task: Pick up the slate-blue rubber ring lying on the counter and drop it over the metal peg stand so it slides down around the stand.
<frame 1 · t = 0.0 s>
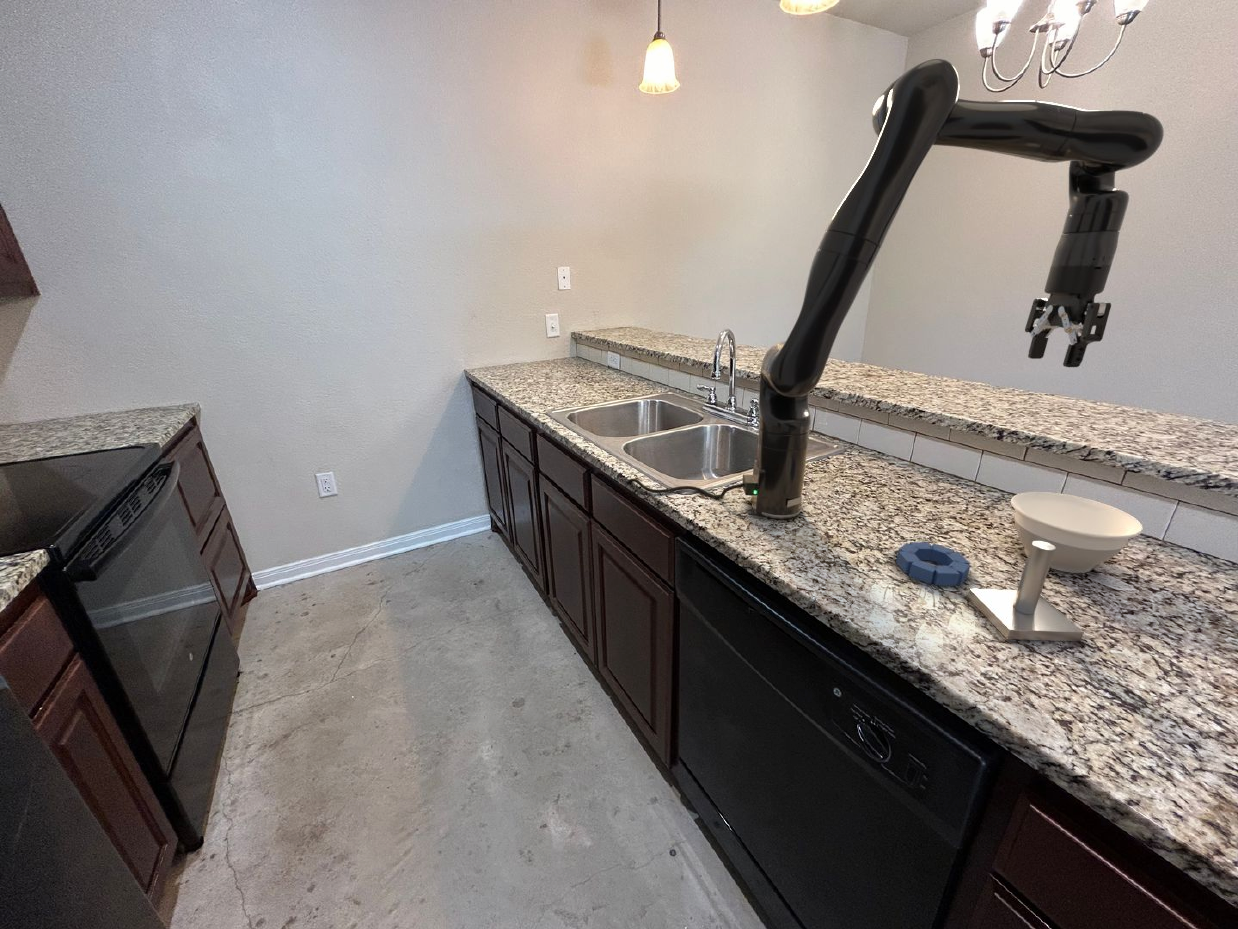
hand: (1052, 362, 87), 29 cm above the countertop, tool pointing down, fingers open, 8 cm apart
bowl: (1057, 559, 82), on the countertop
metal peg stand: (1020, 618, 69), on the countertop
ring: (930, 568, 80), on the countertop
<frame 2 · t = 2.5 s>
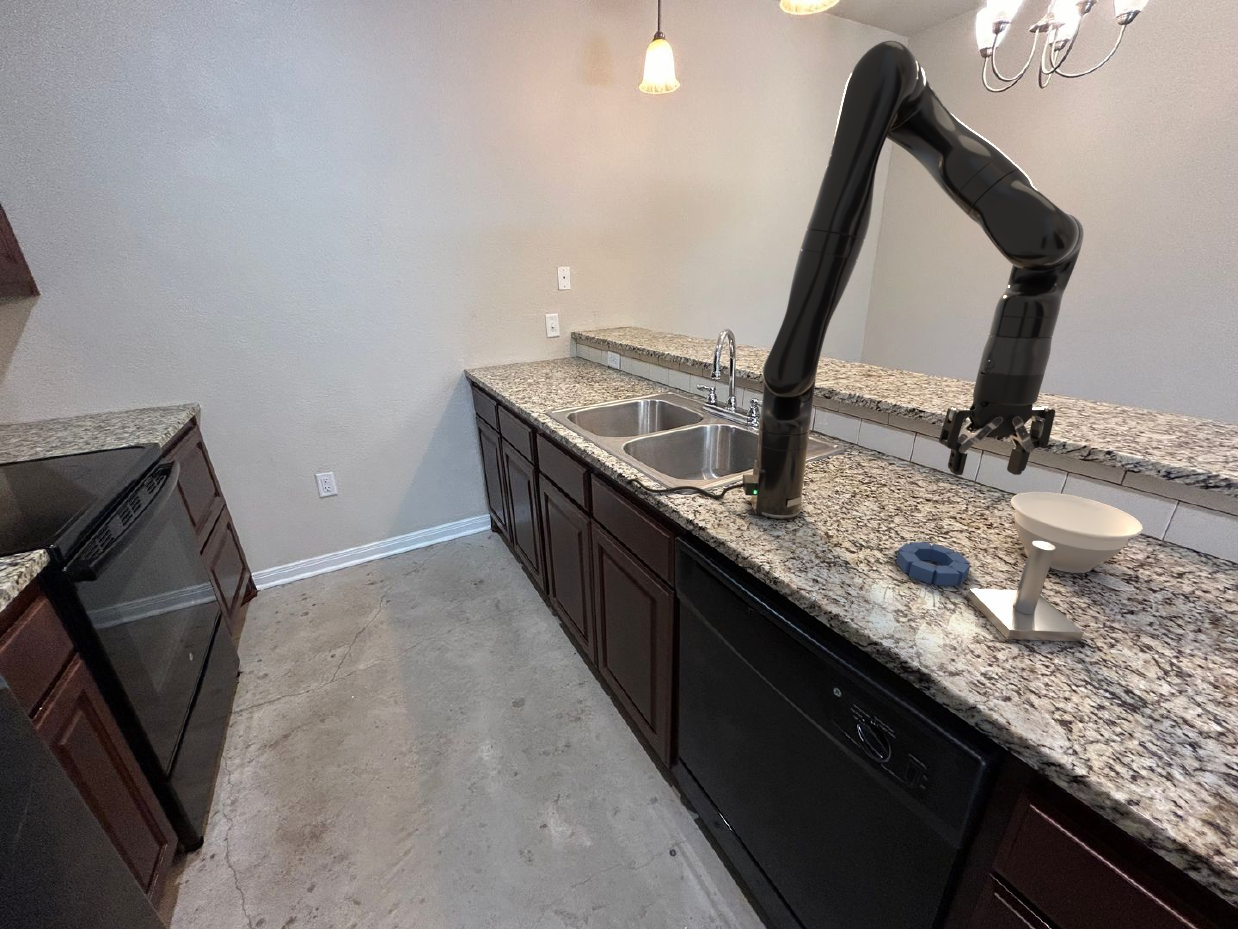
hand: (984, 473, 77), 16 cm above the countertop, tool pointing down, fingers open, 8 cm apart
nothing on the countertop moved.
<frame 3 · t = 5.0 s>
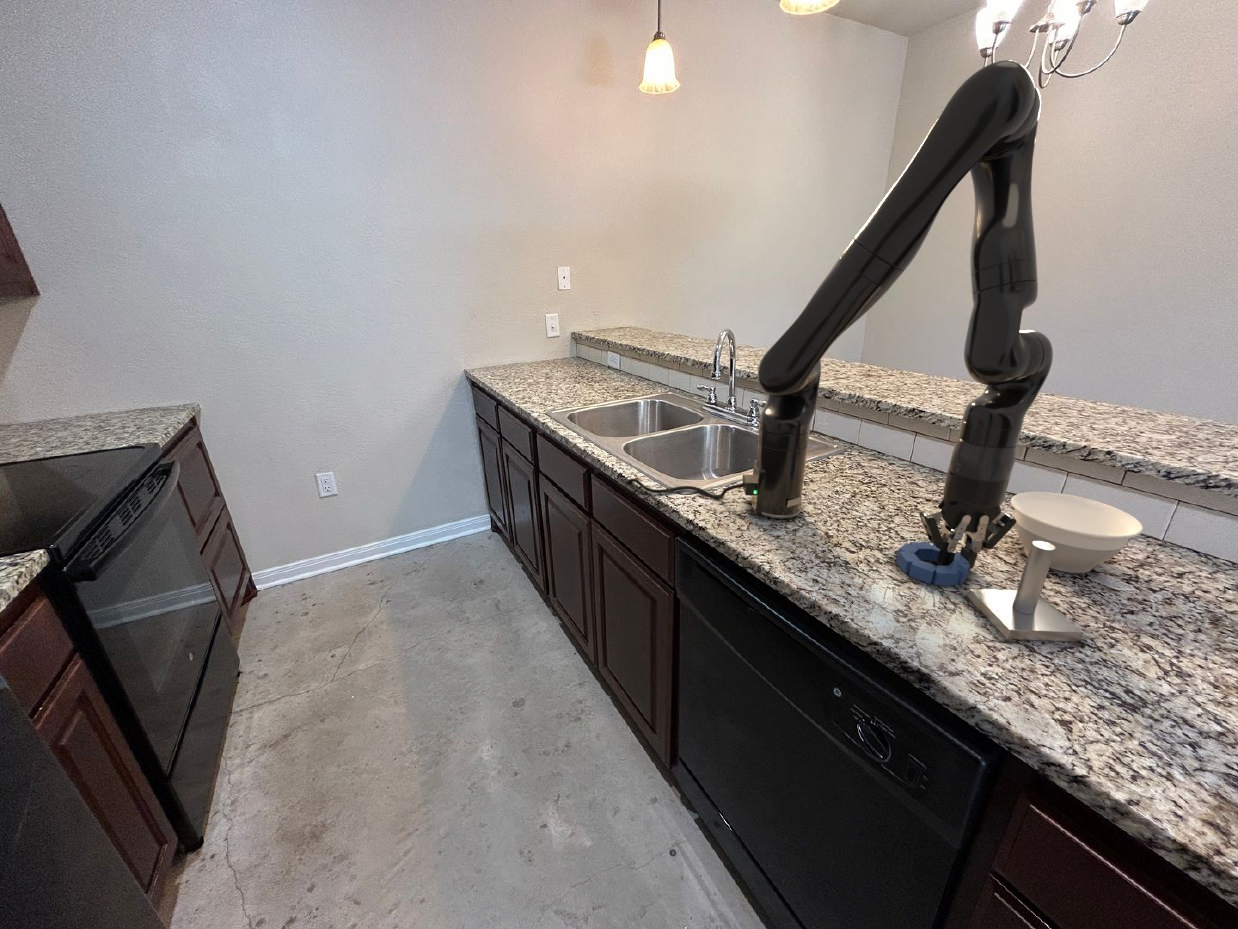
hand: (953, 568, 80), 0 cm above the countertop, tool pointing down, fingers closed on ring, 2 cm apart
ring: (930, 568, 80), on the countertop, touching gripper
everything else where it was.
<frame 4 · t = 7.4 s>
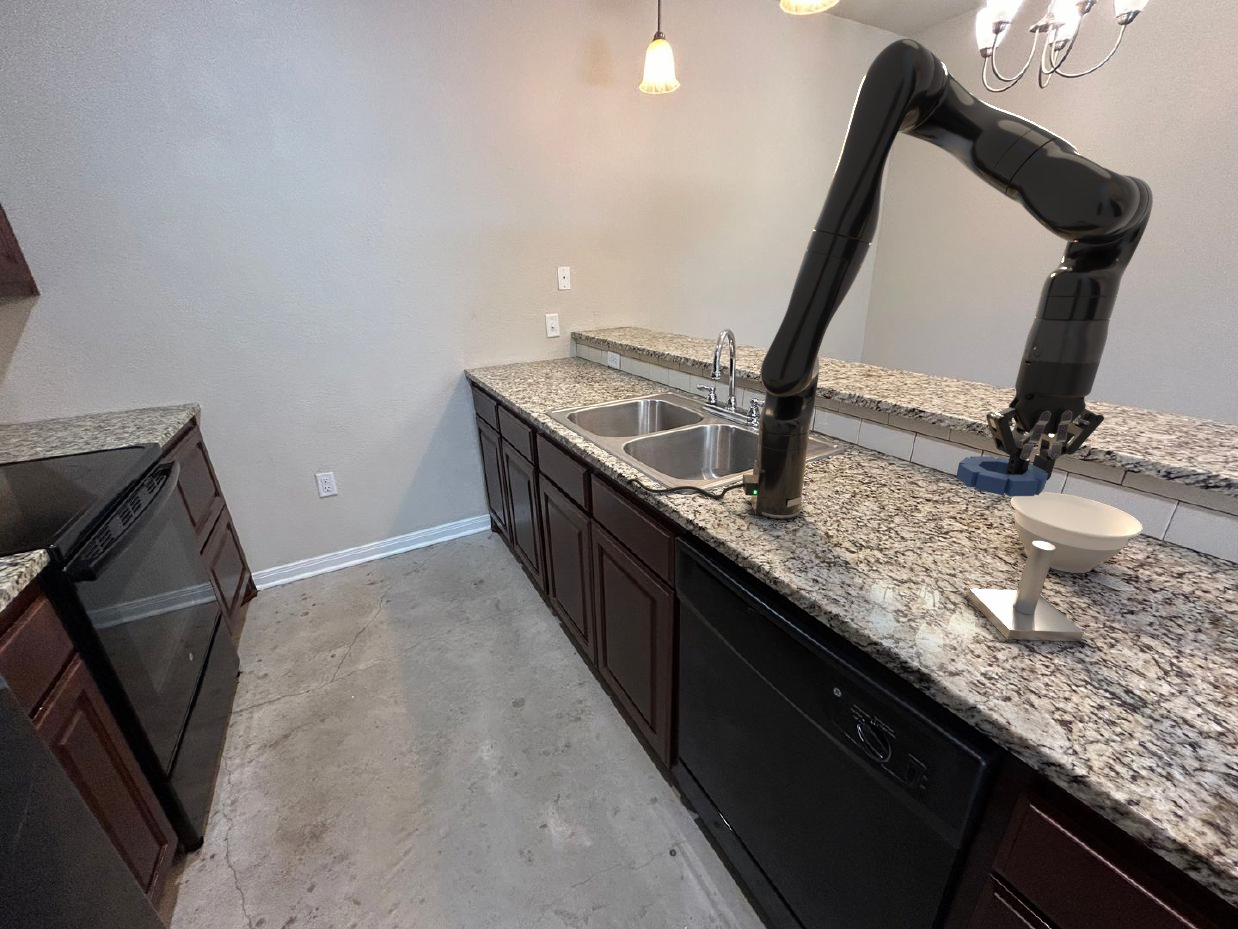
hand: (1025, 481, 69), 18 cm above the countertop, tool pointing down, fingers closed on ring
ring: (998, 482, 69), point 17 cm above the countertop, touching gripper
everything else where it was.
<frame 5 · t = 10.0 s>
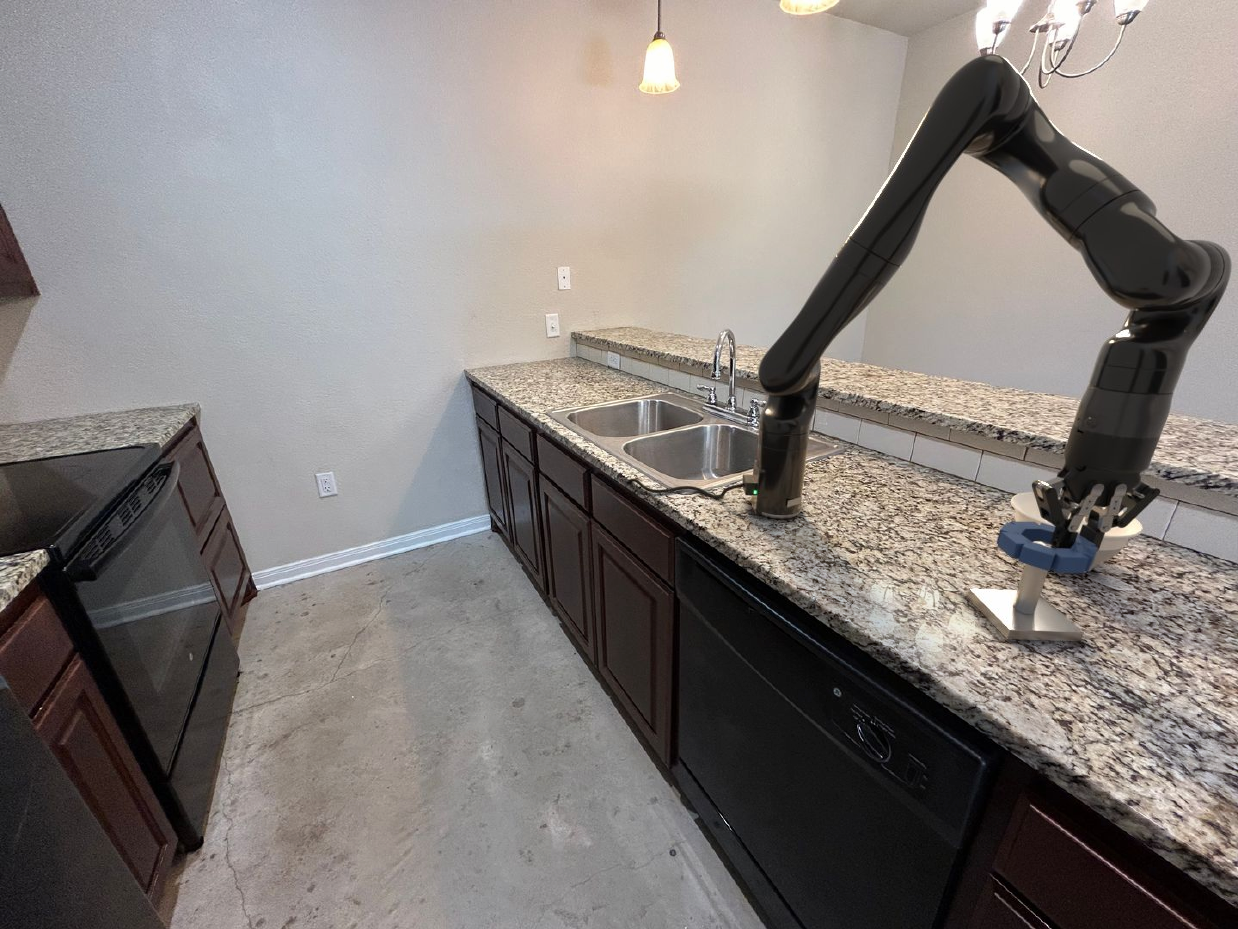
hand: (1071, 553, 65), 10 cm above the countertop, tool pointing down, fingers closed on ring
ring: (1042, 553, 65), point 10 cm above the countertop, touching gripper
everything else where it was.
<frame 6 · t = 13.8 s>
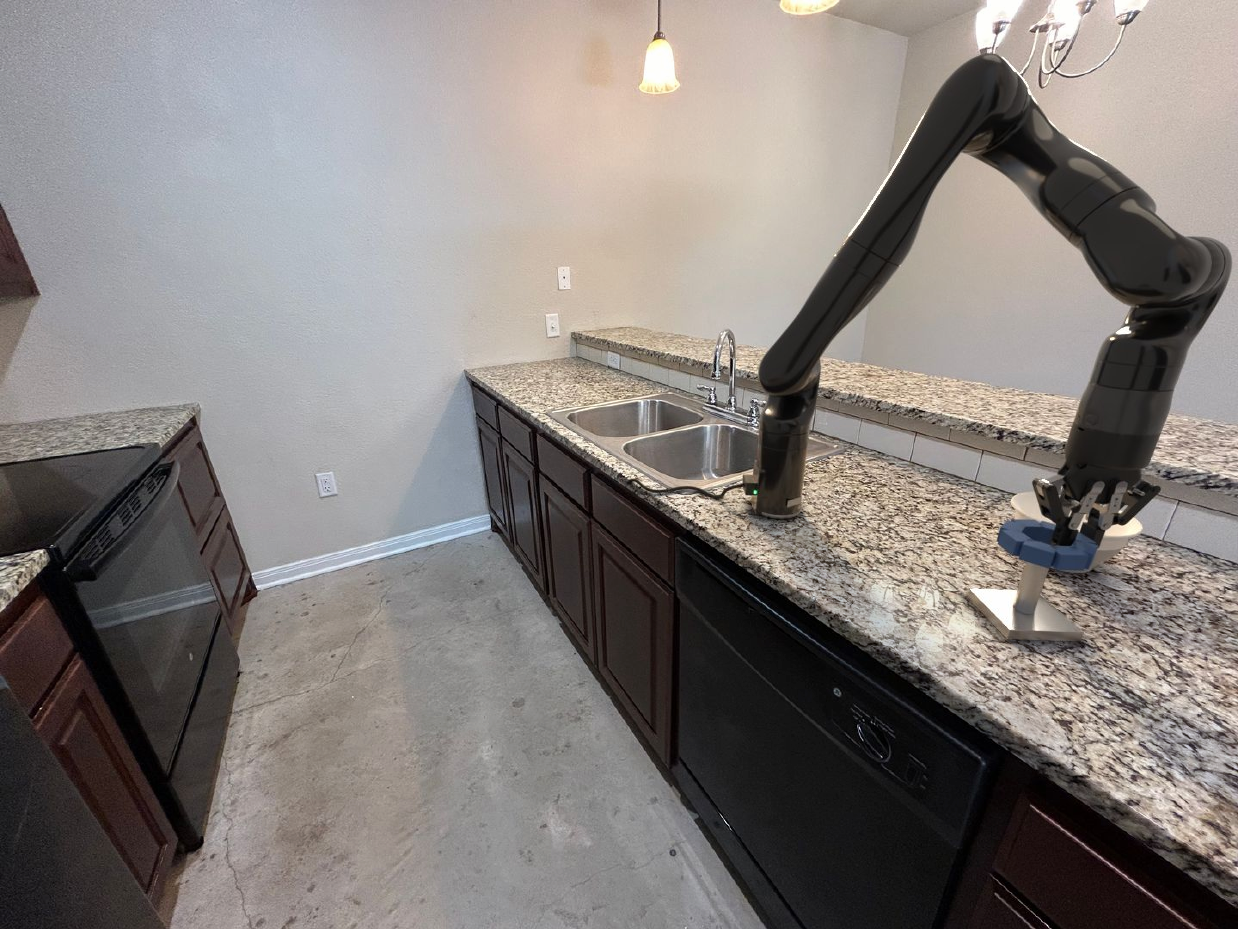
hand: (1072, 550, 64), 11 cm above the countertop, tool pointing down, fingers closed on ring
ring: (1042, 550, 65), point 11 cm above the countertop, touching gripper
everything else where it was.
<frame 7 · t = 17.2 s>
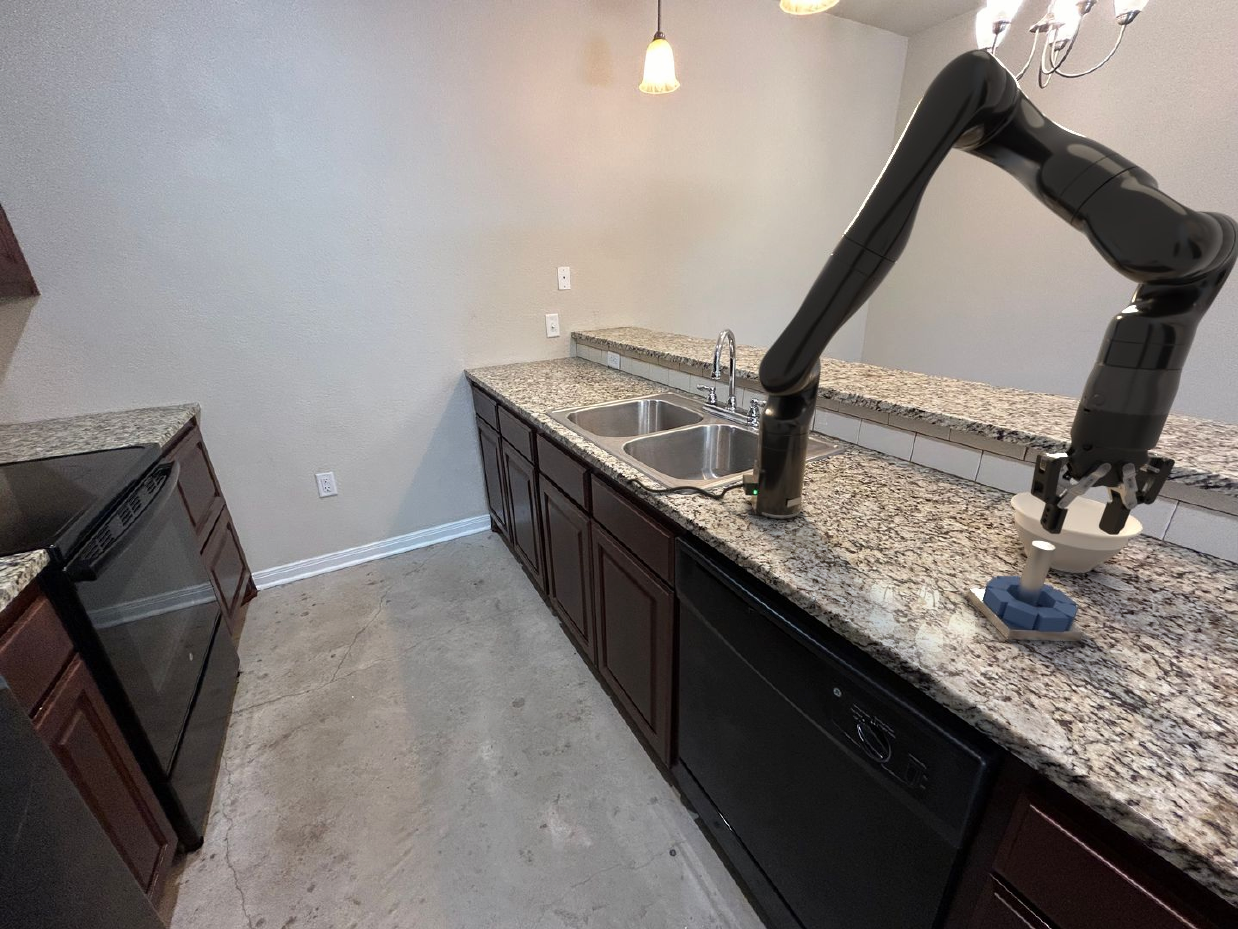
hand: (1078, 531, 63), 14 cm above the countertop, tool pointing down, fingers open, 6 cm apart
ring: (1026, 609, 68), point 1 cm above the countertop, touching metal peg stand
everything else where it was.
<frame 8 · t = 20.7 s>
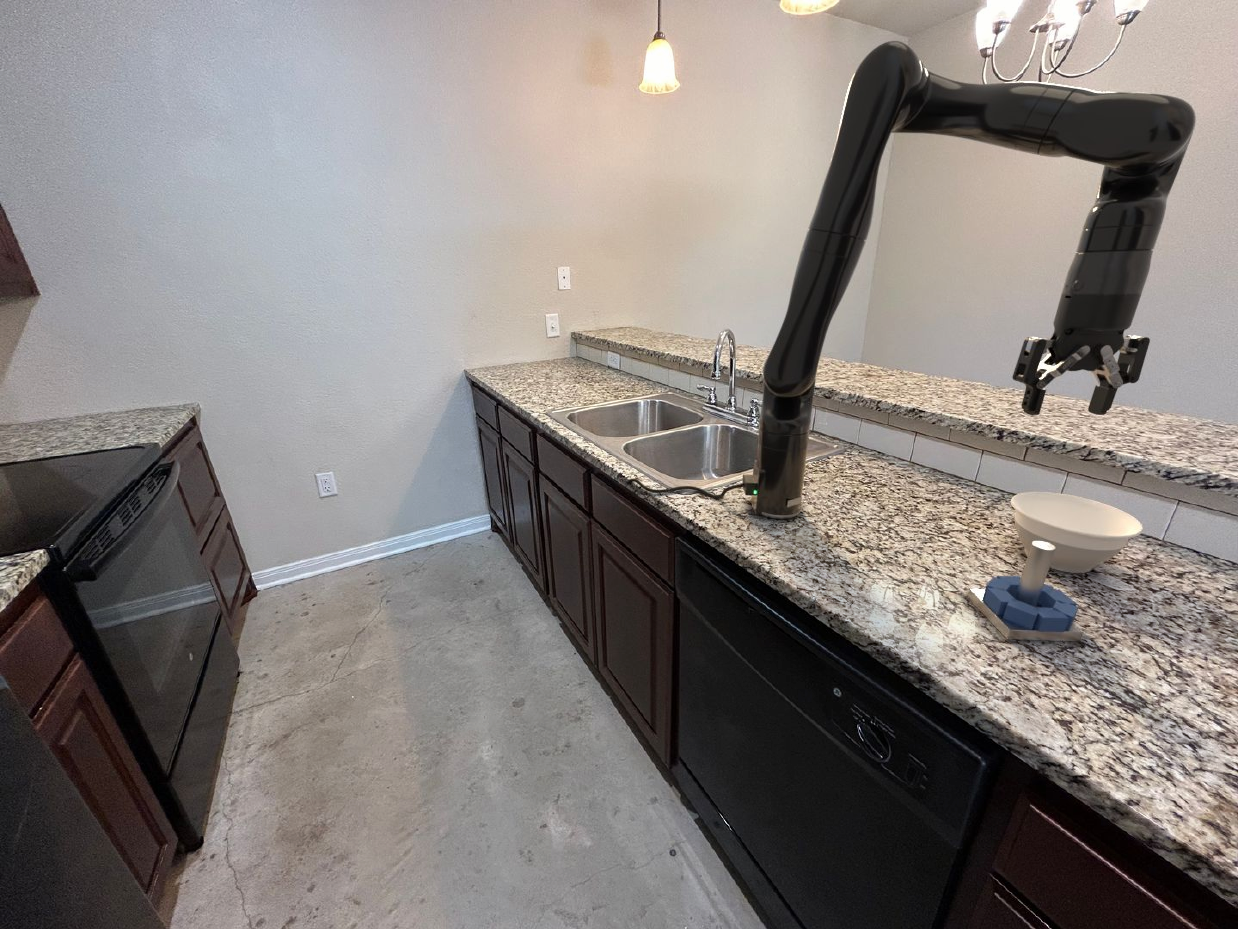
hand: (1062, 413, 69), 26 cm above the countertop, tool pointing down, fingers open, 8 cm apart
nothing on the countertop moved.
at the end: ring 0.4 cm from the metal peg stand (horizontally); ring point 1.5 cm above the countertop; the gripper is holding nothing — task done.
